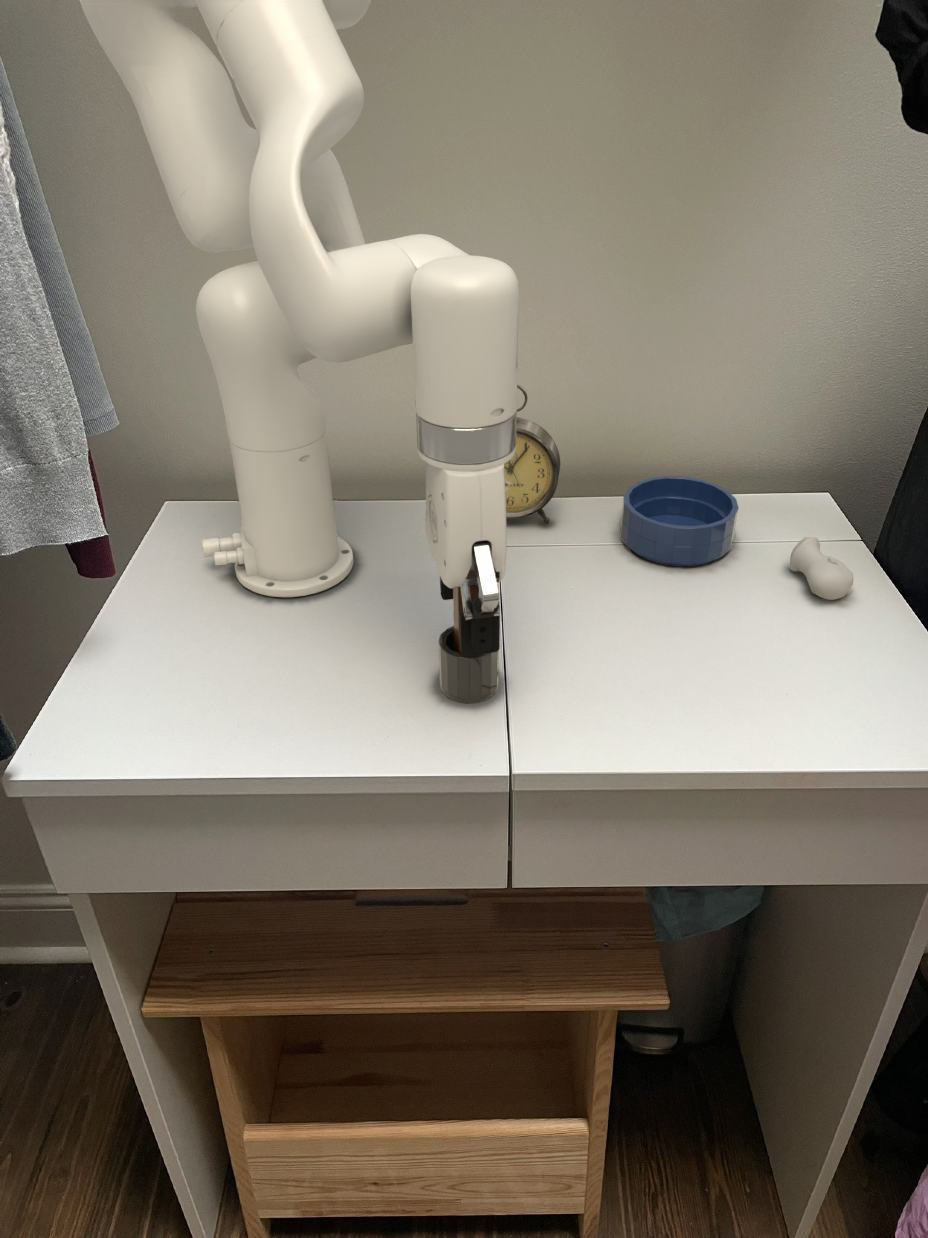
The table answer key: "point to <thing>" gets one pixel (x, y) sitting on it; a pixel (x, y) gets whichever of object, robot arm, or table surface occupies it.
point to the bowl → (678, 520)
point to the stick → (461, 608)
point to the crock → (466, 672)
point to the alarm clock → (531, 470)
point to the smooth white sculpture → (821, 570)
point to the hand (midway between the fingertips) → (468, 622)
